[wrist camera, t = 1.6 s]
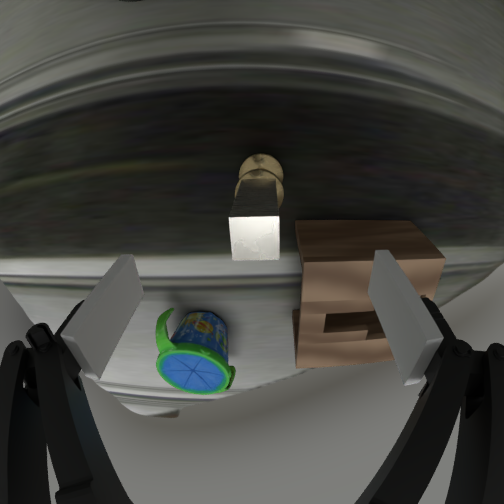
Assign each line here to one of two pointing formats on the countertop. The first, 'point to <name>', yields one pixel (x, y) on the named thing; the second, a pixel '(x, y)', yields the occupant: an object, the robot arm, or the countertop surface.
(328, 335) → the keyhole bracket
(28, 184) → the countertop surface
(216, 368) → the snack cup
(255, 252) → the hanger peg
